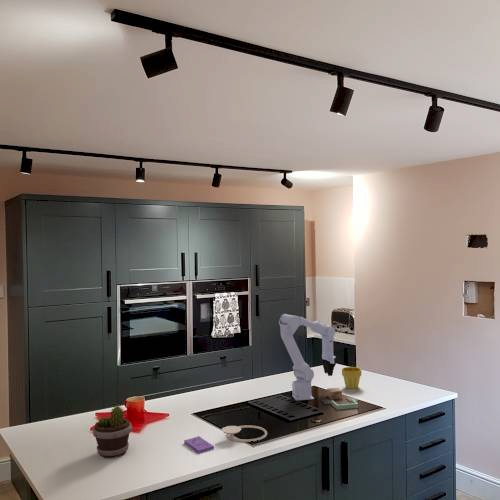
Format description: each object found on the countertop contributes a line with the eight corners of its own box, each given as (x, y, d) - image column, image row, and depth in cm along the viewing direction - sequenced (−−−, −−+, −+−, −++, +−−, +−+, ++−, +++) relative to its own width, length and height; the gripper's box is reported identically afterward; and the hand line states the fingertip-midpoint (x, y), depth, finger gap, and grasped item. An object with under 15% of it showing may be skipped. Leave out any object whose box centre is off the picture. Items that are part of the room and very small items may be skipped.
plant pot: (363, 389, 273) (363, 371, 273) (344, 390, 273) (343, 371, 273) (359, 384, 283) (359, 366, 283) (340, 384, 284) (340, 367, 284)
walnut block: (330, 399, 258) (330, 391, 258) (327, 396, 264) (327, 388, 264) (342, 398, 259) (342, 391, 258) (338, 395, 264) (338, 387, 264)
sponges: (199, 440, 210) (199, 435, 210) (214, 450, 199) (214, 445, 199) (183, 444, 206) (183, 440, 206) (198, 454, 196) (198, 450, 196)
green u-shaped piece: (331, 410, 241) (331, 405, 241) (322, 401, 255) (321, 397, 255) (364, 407, 244) (363, 403, 244) (353, 398, 258) (352, 394, 258)
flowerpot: (85, 454, 198) (83, 402, 198) (121, 442, 209) (119, 393, 209) (104, 465, 188) (102, 410, 187) (140, 452, 198) (139, 400, 198)
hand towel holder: (275, 425, 212) (235, 437, 200) (275, 435, 212) (236, 449, 200) (250, 415, 226) (211, 426, 213) (250, 424, 226) (211, 436, 213)
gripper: (339, 350, 263) (340, 377, 263) (330, 345, 277) (331, 370, 278) (326, 351, 262) (327, 378, 262) (318, 346, 276) (318, 371, 276)
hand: (328, 374), depth 270 cm, fingers open, 5 cm apart
